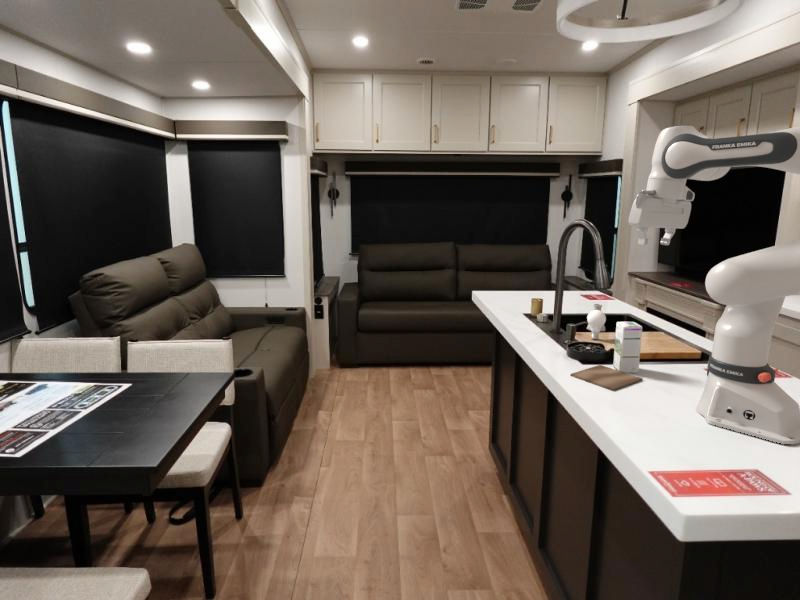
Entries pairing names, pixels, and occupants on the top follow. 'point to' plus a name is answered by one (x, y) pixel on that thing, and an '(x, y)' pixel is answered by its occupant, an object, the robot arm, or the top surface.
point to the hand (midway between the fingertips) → (653, 244)
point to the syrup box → (627, 347)
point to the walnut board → (606, 377)
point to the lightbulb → (596, 322)
